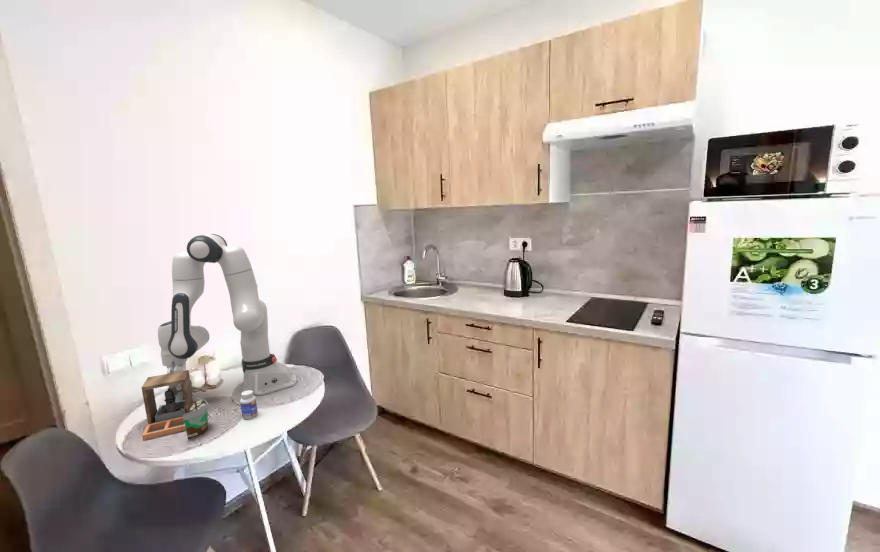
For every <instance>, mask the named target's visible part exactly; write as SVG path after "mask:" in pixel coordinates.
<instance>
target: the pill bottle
mask: <svg viewBox="0 0 880 552" xmlns="http://www.w3.org/2000/svg"><path fill="white" fill-rule="evenodd" d="M240 397H241V398H240V400H239V404H240V405H239V406H240V410H241V411H240V412H241V417H242V419H243V420H251V419H254V418H256V417H257V416H258V404H257V398H256V395H254V394H253V391H252V390H247V391H244V392H243V391H242V392H241V393H240Z"/></svg>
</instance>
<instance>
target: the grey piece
mask: <svg viewBox="0 0 880 552" xmlns="http://www.w3.org/2000/svg"><path fill="white" fill-rule="evenodd" d="M190 382H191V388H192V393H193V391H194V390H193V389H194V388H193V383H192V379H190ZM168 388H169V387H168ZM169 390H173V392H174V397H176V399H175V402H176V405H181V407H180V410H178V411H174V412H169V413H164V412H163V409H164V408H166V403H165V404H160V405H159V406H158V408H157V412H156V415H155V423H156V422H161V421H165V420H170V419H174V418H179V417H183V414H186V412H187V411H186V405H185V399H184V400H183V398H184V392H183V386H182V389H181V390H176V387H173V388H169Z"/></svg>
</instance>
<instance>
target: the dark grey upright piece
mask: <svg viewBox="0 0 880 552" xmlns="http://www.w3.org/2000/svg"><path fill="white" fill-rule="evenodd" d="M164 398H165V399H164V402H165V404H166V408H164V409H163V412H164V413H169V412H174V411H178V410H181V409H180V407H181V405H176V402H175V399H176V396H174V392H173V390H169V387H168V388H167V389H166V390H165V391H164ZM164 413H163V414H164Z"/></svg>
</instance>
